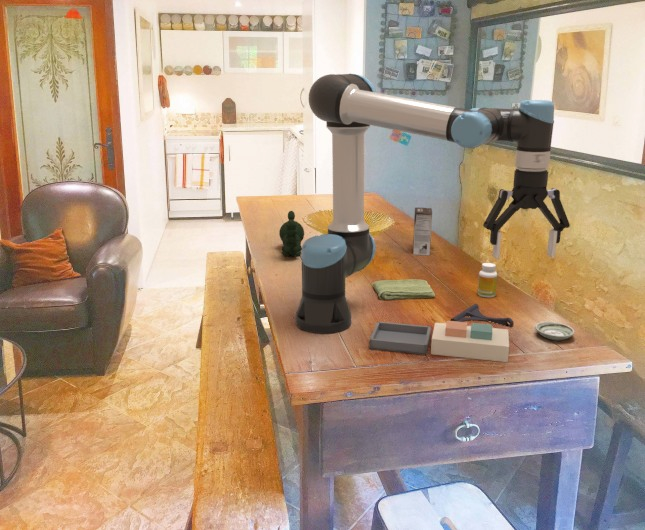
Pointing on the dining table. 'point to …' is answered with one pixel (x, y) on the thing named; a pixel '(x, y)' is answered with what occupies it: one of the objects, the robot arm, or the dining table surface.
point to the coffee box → (422, 231)
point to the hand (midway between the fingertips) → (523, 256)
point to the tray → (400, 338)
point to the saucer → (554, 330)
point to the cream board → (471, 345)
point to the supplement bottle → (487, 280)
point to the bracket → (480, 316)
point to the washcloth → (403, 289)
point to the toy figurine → (291, 236)
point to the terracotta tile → (456, 329)
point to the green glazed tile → (481, 331)
